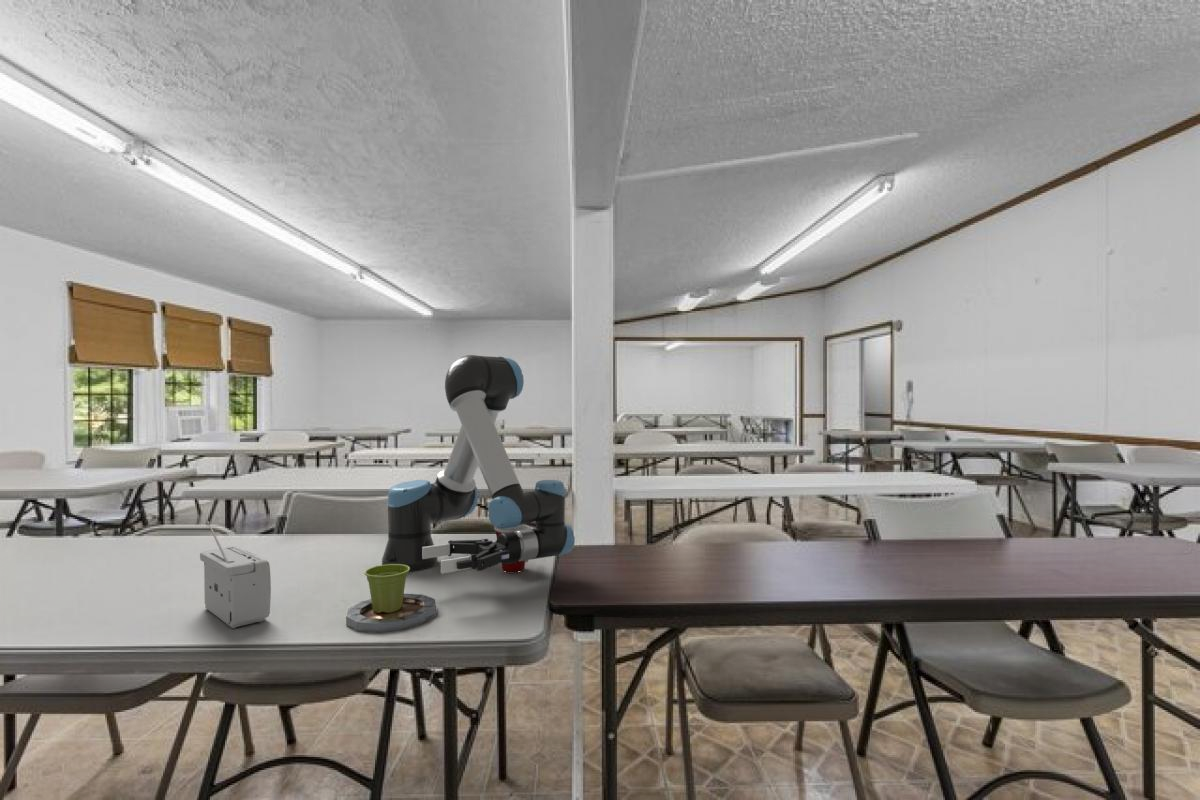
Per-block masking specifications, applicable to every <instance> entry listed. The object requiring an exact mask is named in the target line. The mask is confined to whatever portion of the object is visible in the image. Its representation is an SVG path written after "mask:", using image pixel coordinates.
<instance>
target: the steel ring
mask: <svg viewBox="0 0 1200 800" xmlns="http://www.w3.org/2000/svg"><path fill="white" fill-rule="evenodd" d="M436 615H437V604H436V599H435V598H433V597H431V596H428V595H425V594H422V593H421V594H418V593H417V594H416V593H404V595H403V603H402V607H401V608H400V609H399V610H397V611H394V612H390V613H386V612H381V613H377V612H374V611H373V608H372V601H371V598H369V599H366V600H363V601H360V602H358V603H357V604H355V605H353V606H351V607H350V608H348V610H347V612H346V617H345V619H346V621H345V622H346V624H345V625H346V626H347V627H349V628H351V629H352V630H354V631H356V632H365V633H378V634H380V633H388V632H396V631H403V630H407V629H410V628H413V627H417V626H419V625H421V624H425V623H427V622H428V621H429V620H431V619H432V618H434V617H436Z"/></svg>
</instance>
